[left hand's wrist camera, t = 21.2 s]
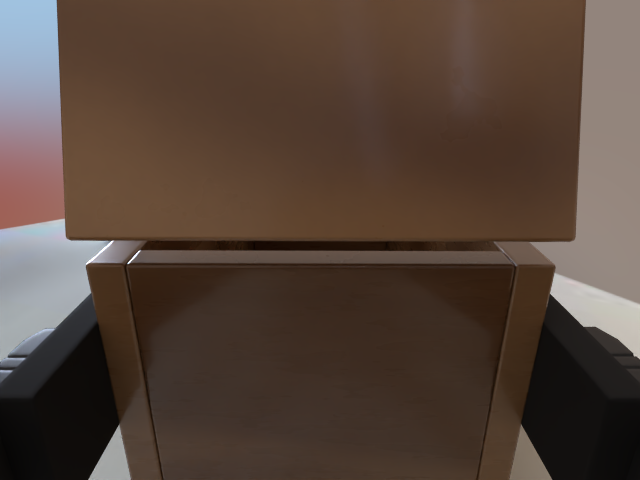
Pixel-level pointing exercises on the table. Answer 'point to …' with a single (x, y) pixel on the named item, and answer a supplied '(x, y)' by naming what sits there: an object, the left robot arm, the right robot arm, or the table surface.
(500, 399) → the chest
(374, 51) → the lid
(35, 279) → the table surface
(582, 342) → the left robot arm
